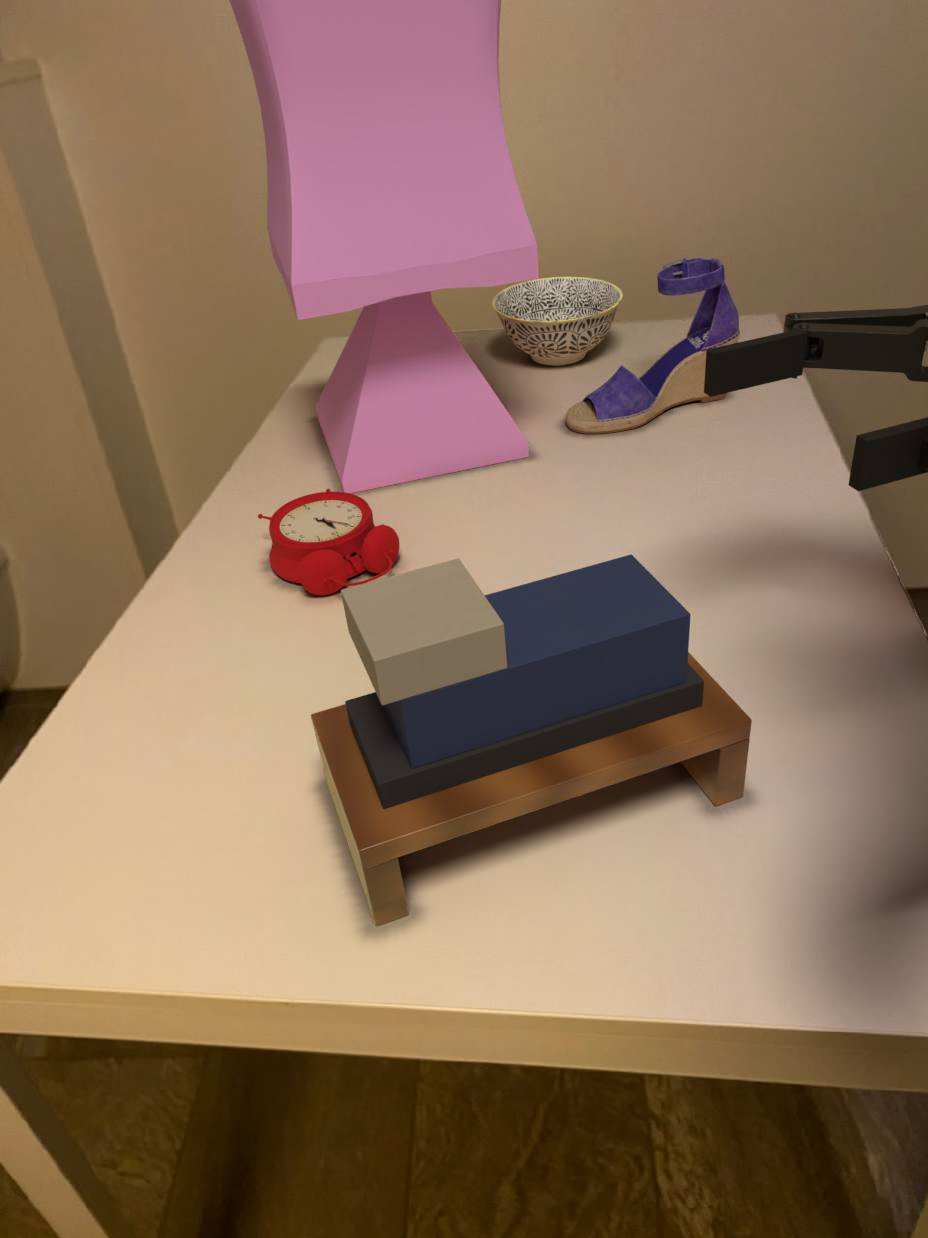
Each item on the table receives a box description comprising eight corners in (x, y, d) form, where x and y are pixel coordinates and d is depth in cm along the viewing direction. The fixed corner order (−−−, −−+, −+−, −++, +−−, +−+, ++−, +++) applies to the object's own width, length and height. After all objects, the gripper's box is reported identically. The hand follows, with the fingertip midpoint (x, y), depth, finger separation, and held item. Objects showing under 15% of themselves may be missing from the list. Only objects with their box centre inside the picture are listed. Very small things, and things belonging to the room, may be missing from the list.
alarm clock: (338, 476, 92) (413, 501, 80) (355, 536, 95) (430, 569, 83) (238, 513, 88) (301, 545, 76) (259, 575, 91) (323, 616, 78)
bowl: (628, 375, 115) (629, 313, 110) (496, 385, 116) (491, 323, 112) (615, 329, 128) (615, 271, 123) (496, 338, 129) (492, 281, 124)
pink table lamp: (486, 382, 117) (451, -72, 90) (546, 459, 99) (524, -77, 73) (305, 416, 113) (212, -45, 87) (333, 503, 96) (228, -44, 69)
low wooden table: (649, 685, 69) (652, 612, 66) (743, 797, 60) (752, 719, 56) (328, 786, 64) (310, 713, 60) (375, 927, 55) (358, 851, 51)
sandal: (555, 409, 109) (550, 275, 100) (721, 382, 111) (732, 248, 102) (574, 439, 102) (571, 298, 94) (751, 410, 104) (765, 269, 95)
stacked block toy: (641, 637, 63) (645, 504, 58) (702, 706, 58) (713, 566, 52) (349, 725, 59) (321, 591, 53) (383, 809, 53) (355, 670, 47)
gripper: (1264, 481, 50) (924, 584, 45) (921, 338, 69) (659, 399, 64) (1328, 338, 45) (959, 436, 40) (943, 229, 65) (663, 286, 60)
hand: (774, 414), depth 52 cm, fingers open, 13 cm apart
